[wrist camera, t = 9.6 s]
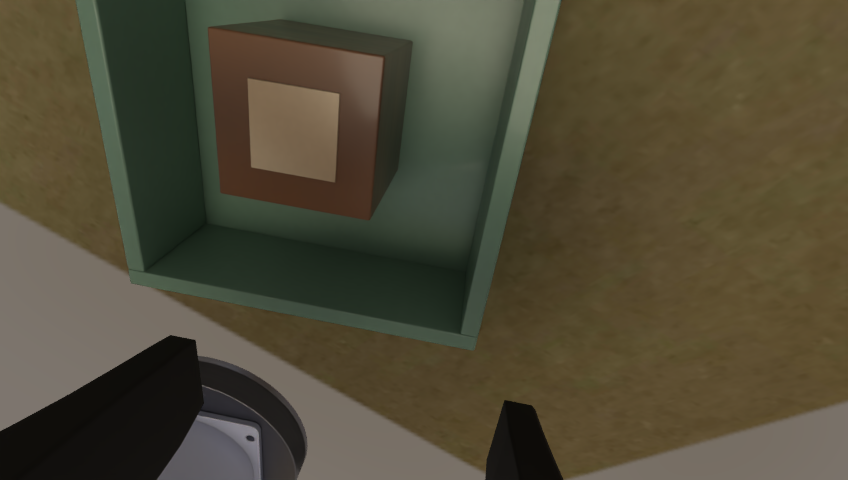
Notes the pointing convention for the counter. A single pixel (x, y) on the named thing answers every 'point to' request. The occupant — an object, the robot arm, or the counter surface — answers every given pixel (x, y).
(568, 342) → the counter surface
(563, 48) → the counter surface
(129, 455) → the robot arm
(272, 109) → the letter block
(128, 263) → the tray
